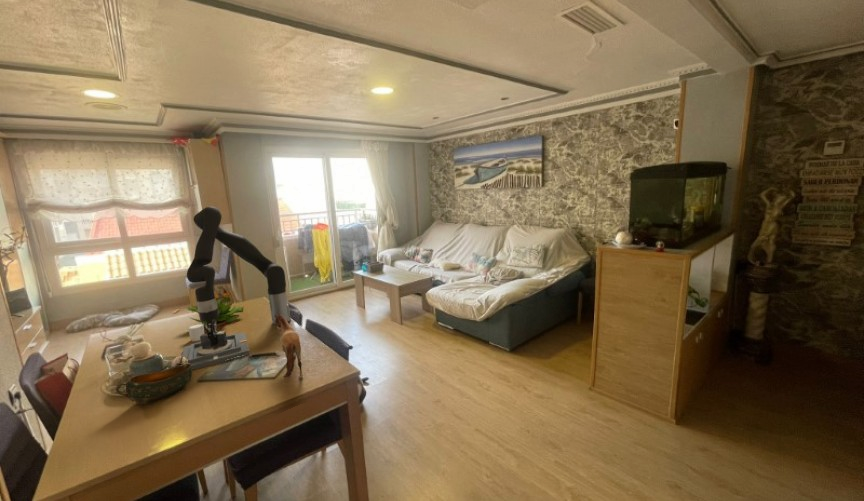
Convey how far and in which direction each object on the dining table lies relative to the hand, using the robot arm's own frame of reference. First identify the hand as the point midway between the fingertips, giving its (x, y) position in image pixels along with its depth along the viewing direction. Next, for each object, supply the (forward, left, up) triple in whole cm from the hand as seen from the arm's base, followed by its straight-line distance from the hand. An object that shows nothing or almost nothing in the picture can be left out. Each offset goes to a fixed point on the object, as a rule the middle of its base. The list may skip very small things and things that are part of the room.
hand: (214, 343), depth 162 cm
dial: (0, 0, -2) cm, 2 cm away
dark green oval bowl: (+18, +29, -5) cm, 34 cm away
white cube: (+8, -26, -5) cm, 28 cm away
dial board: (0, 0, -4) cm, 4 cm away
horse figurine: (-24, +41, -5) cm, 48 cm away
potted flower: (0, -44, -5) cm, 44 cm away
